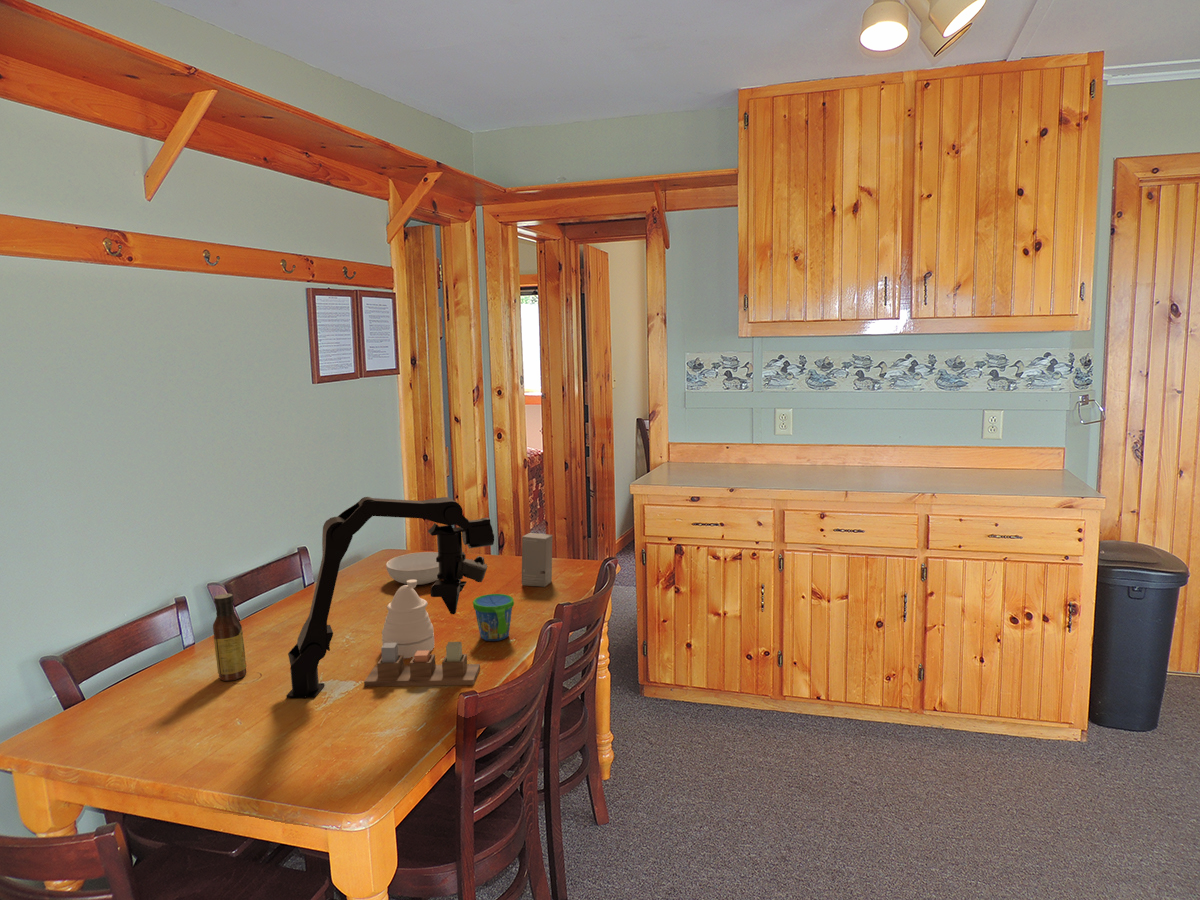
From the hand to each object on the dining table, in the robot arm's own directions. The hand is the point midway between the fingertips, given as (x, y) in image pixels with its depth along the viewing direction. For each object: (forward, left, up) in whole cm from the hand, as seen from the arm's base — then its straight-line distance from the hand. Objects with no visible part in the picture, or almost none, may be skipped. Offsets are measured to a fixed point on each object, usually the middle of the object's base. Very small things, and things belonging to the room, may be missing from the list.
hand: (453, 613), depth 195 cm
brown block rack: (-8, +6, -12) cm, 16 cm away
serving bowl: (+68, +25, -13) cm, 74 cm away
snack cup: (+17, -7, -13) cm, 22 cm away
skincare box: (+63, -14, -13) cm, 66 cm away
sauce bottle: (-6, +52, -13) cm, 54 cm away
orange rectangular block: (-8, +6, -11) cm, 15 cm away
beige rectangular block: (-8, -1, -9) cm, 12 cm away
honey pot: (+10, +14, -13) cm, 21 cm away
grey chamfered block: (-8, +14, -9) cm, 18 cm away
